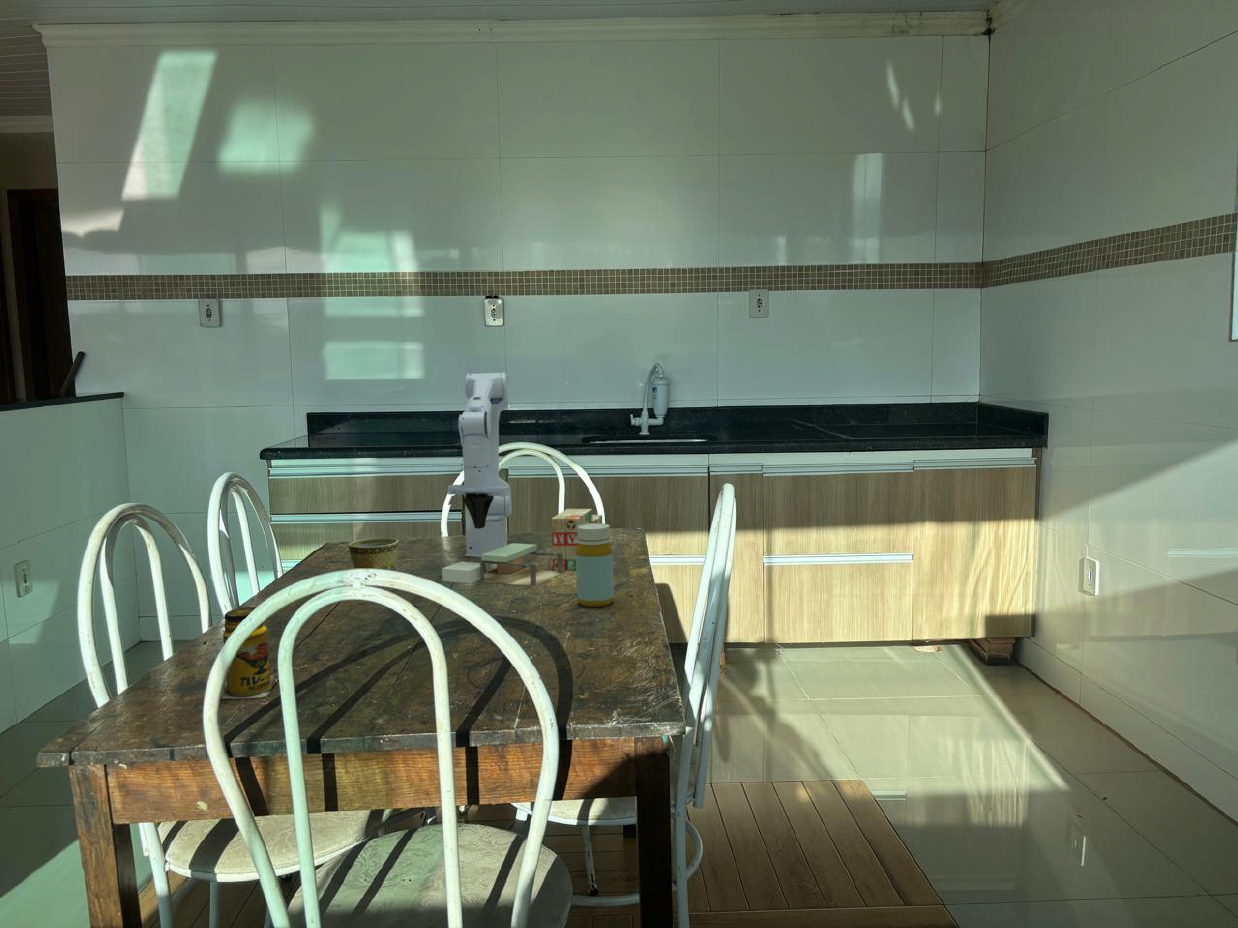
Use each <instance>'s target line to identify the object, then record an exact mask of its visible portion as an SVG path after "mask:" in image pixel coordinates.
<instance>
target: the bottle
mask: <svg viewBox="0 0 1238 928" xmlns="http://www.w3.org/2000/svg"><path fill="white" fill-rule="evenodd" d="M610 528H611V527H610V524H607V523H603V522H602V523H589V524H582V525H579V526H578V527H577V536H578V545H577V549H576V570H577V571H576V595H577V602H578V603H579V604H580V605H581V606H584V607H589V608H601V607H606V606H609V605H611V604H612V602H614V599H615V590H614V589H615V587H614V586H615V585H614V555H613V547H612V544H611V542H610V541H611V540H610V539H611V538H610V537H611V534H610V533H611V531H610V530H611V529H610Z"/></svg>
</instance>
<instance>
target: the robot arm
mask: <svg viewBox="0 0 1238 928" xmlns="http://www.w3.org/2000/svg"><path fill="white" fill-rule="evenodd" d="M464 381H465V382H464V383H465V384H464V386H465V388H464V389H465V395H466V398H467V401H466V405H465V407H464V408H465V410H464V411H463V412H462V414H459V417H458V431H459V437H460V444H461V445H460V446H461V447H462V460H463V463H462V465H463V479H464V480H463V481H464V484H450V485H447V495H449V496H450V495H465V497H463V498H462V502H463V503H464V505H465V506H466V508H467V510H468V512H469V513H468V514H469V516H470V517H471V518H470V519H469V520H468V521H467V523H466V526H465V540H466V541H465V542H466V553H465V554H464V556H465V557H475V558H481V555H482V554H484V553H487V552H490V551H493V550H495V549H498V548H501V547H504V546H507V545H508V535H507V534H508V531H507V528H508V527H507V517H510V515H511V514H512V508H513V507H512V503H513V502H512V493H511V491H512V490H511V486H510V485H509V483H508V482H507V481H505V480H504V479H502V478H501V477H500V450H499V449H500V448H499V447H500V442H499V441H500V440H499V439H500V431H499V430H500V427H499V426H500V425H499V424H500V418H501V412H503V411H504V410H505V409H507V408H508V404H509V379H508V375H507V373H506V372H505V371H503V372H489V373H487V372H485V373H484V372H482V373H471V372H470V373H467V374H466V376H465V380H464Z"/></svg>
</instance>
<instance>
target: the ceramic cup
mask: <svg viewBox="0 0 1238 928" xmlns="http://www.w3.org/2000/svg"><path fill="white" fill-rule="evenodd" d="M398 548H399V540H398V539H396V538H391V537H374V538H373V537H371V538H365V539H358V540H354V541H352V542H350V543H348V549H349V555H350V559H351V562H352V565H353V568H383V569H392V570H395V571H396V567H397V566H396V565H397V564H396V563H397V560H398V559H397V558H398V550H399V549H398Z"/></svg>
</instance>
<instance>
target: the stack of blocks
mask: <svg viewBox="0 0 1238 928" xmlns="http://www.w3.org/2000/svg"><path fill="white" fill-rule="evenodd" d="M589 523H603V515H602V514H593V509H592V508H566V509H565V510H563V511H562V512H560V513H559V514H557V515H555V516H553V517H552V518H551V541H552V543H551V544H552V553H562V561H563V572H565V571H566V572H568V571H571V572H575V571H576V572H577V570H576V549H577V545H578V536H577V527H578V526H579V525H582V524H589ZM552 567H553V570H552V571H558V562H557V556H552Z"/></svg>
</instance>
